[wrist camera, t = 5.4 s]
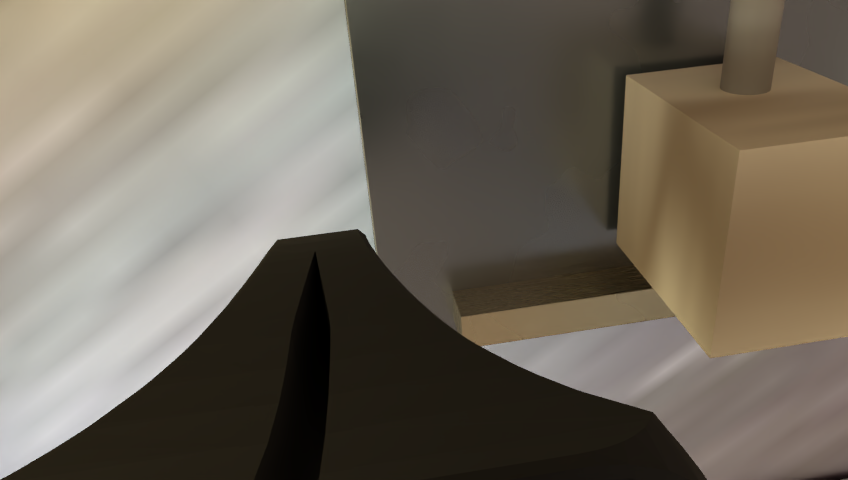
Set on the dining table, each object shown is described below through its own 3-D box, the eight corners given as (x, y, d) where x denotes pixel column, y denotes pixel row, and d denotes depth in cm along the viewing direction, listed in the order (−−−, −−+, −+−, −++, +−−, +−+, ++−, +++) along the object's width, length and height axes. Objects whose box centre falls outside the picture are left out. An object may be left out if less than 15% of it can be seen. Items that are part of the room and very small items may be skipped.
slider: (750, 224, 15) (881, 330, 12) (616, 243, 15) (710, 358, 12) (841, -349, 11) (1100, -450, 7) (649, -336, 10) (823, -436, 7)
